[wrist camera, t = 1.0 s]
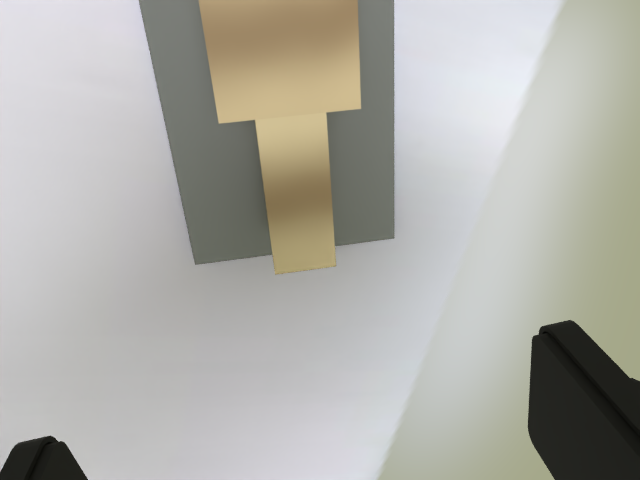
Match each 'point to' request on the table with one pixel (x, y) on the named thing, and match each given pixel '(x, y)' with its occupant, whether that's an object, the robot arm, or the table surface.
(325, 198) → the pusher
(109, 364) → the table surface
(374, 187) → the rest mat
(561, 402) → the robot arm
